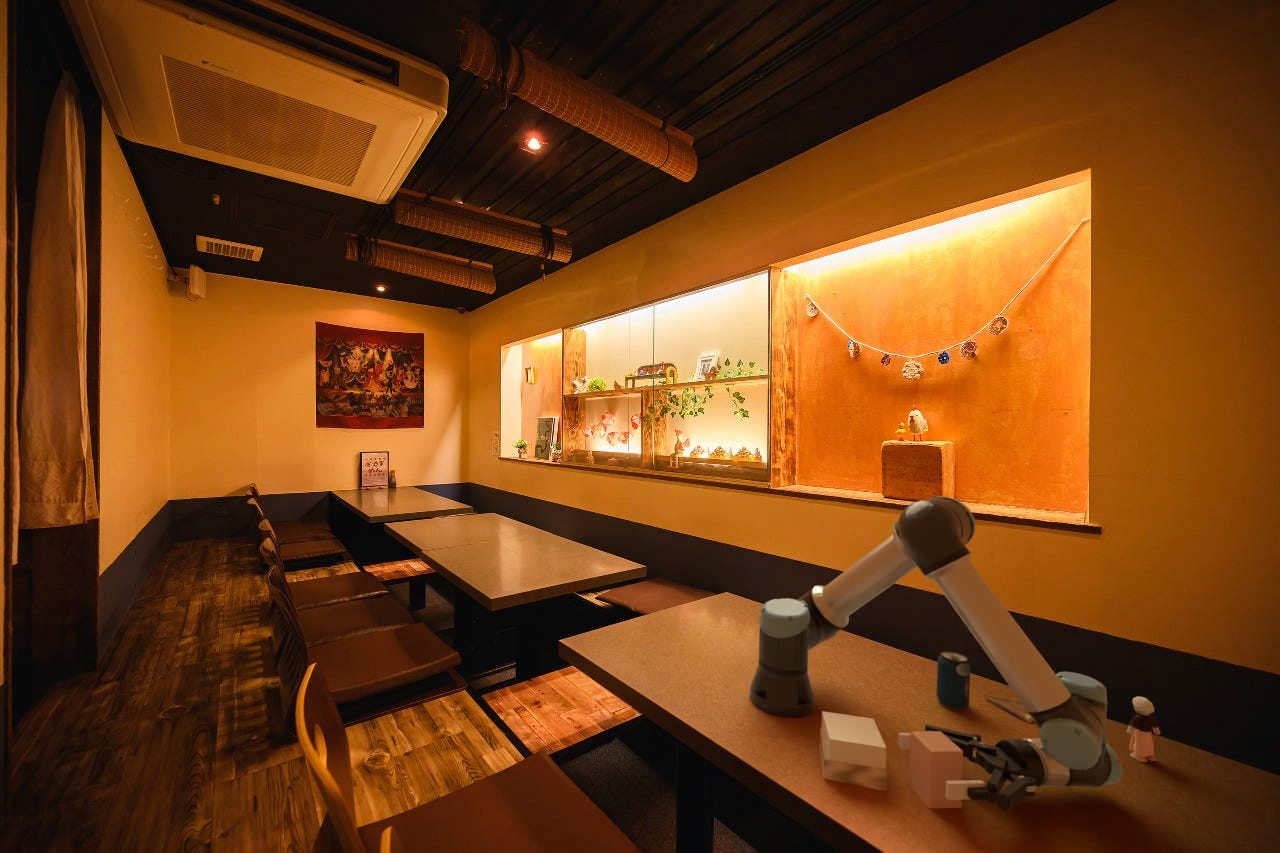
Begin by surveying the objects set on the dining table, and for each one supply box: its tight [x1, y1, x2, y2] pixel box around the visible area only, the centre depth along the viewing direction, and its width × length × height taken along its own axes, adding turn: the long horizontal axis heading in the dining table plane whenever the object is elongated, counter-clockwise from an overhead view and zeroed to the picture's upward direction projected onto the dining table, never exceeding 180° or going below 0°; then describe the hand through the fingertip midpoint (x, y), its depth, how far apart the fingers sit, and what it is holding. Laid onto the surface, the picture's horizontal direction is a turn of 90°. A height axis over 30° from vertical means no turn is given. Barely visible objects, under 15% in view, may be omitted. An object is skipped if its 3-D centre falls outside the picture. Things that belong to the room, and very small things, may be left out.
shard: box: [983, 694, 1035, 723], centre depth 125 cm, size 11×8×2 cm
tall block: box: [908, 730, 964, 809], centre depth 93 cm, size 6×6×10 cm
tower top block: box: [821, 711, 887, 770], centre depth 100 cm, size 10×10×4 cm
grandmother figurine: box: [1126, 696, 1161, 763], centre depth 106 cm, size 8×4×13 cm, turn 110°
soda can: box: [936, 650, 971, 711], centre depth 126 cm, size 7×7×12 cm
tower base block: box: [819, 727, 888, 792], centre depth 100 cm, size 11×11×4 cm
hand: (921, 763), depth 92 cm, fingers open, 13 cm apart
